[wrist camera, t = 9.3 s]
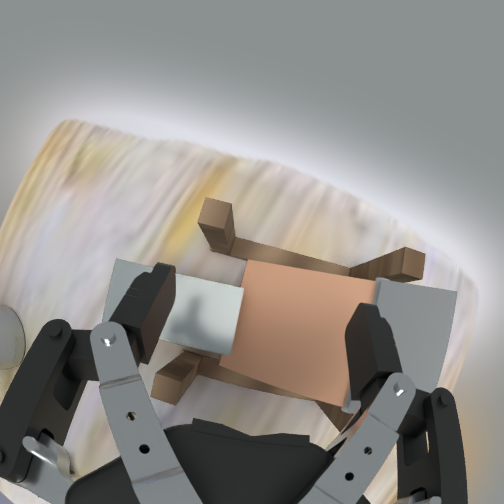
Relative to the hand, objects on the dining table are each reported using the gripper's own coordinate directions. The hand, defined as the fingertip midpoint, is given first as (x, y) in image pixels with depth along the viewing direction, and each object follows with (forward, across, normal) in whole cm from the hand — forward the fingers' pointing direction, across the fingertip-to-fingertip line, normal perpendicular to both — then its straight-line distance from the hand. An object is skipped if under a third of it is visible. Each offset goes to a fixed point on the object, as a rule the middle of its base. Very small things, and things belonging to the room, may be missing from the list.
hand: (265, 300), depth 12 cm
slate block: (+6, +6, +9) cm, 13 cm away
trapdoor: (+6, -7, +9) cm, 13 cm away
